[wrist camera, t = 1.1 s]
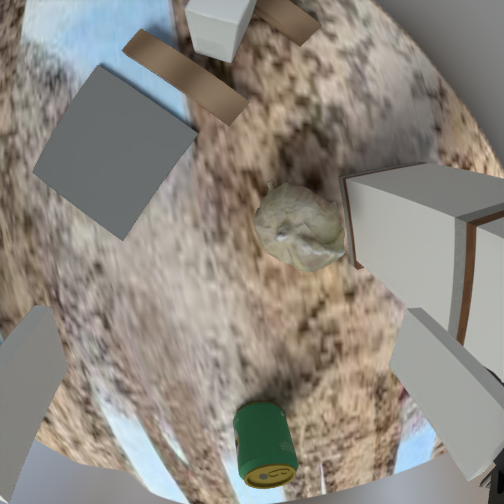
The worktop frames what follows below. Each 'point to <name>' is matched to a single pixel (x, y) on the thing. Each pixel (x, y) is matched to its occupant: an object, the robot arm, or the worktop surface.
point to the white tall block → (435, 246)
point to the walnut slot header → (203, 82)
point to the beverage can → (264, 446)
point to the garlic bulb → (299, 227)
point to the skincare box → (218, 26)
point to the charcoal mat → (112, 151)
